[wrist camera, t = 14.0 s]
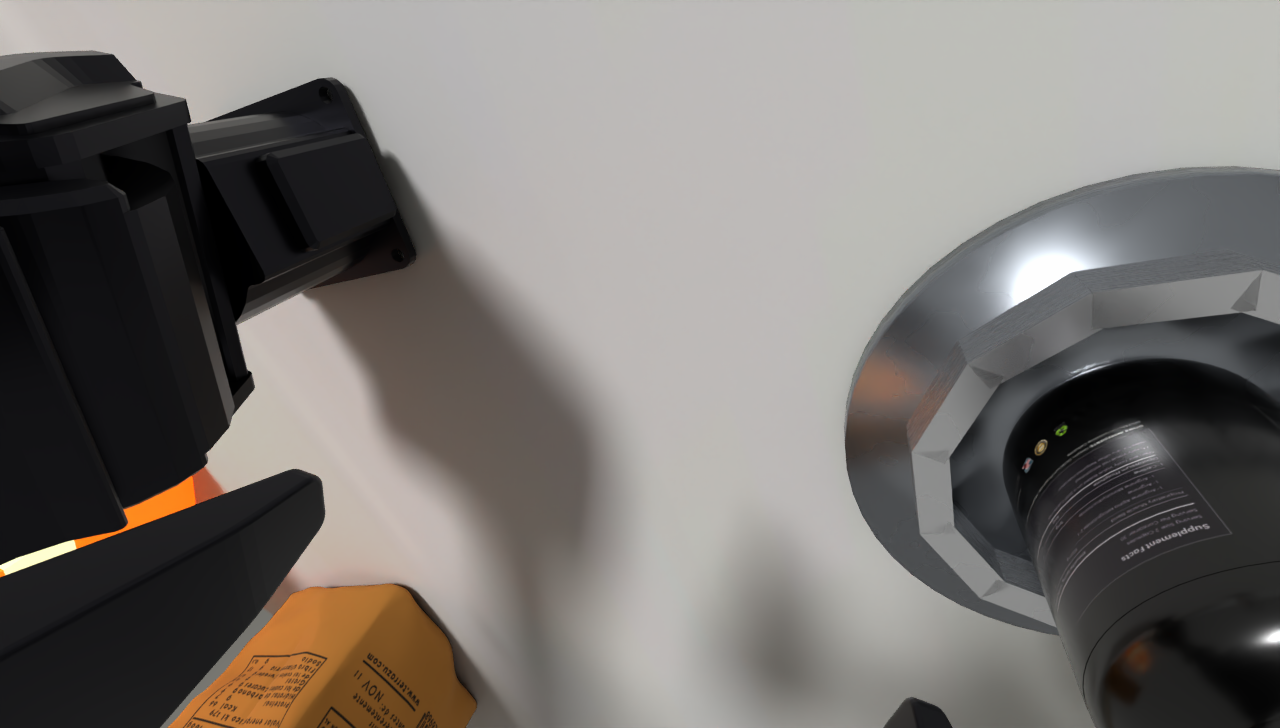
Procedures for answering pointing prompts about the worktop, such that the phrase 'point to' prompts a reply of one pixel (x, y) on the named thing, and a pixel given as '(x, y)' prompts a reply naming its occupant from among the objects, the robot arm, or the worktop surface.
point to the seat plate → (1006, 279)
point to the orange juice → (136, 516)
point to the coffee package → (339, 668)
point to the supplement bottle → (1157, 539)
